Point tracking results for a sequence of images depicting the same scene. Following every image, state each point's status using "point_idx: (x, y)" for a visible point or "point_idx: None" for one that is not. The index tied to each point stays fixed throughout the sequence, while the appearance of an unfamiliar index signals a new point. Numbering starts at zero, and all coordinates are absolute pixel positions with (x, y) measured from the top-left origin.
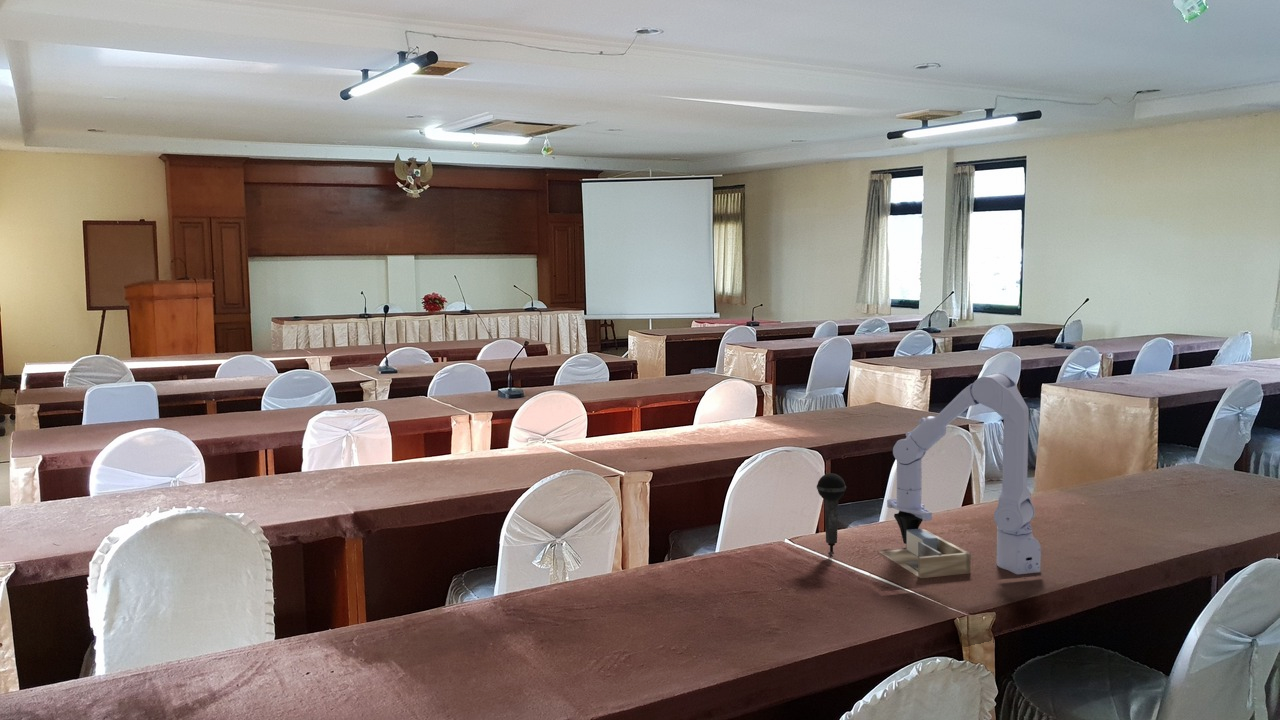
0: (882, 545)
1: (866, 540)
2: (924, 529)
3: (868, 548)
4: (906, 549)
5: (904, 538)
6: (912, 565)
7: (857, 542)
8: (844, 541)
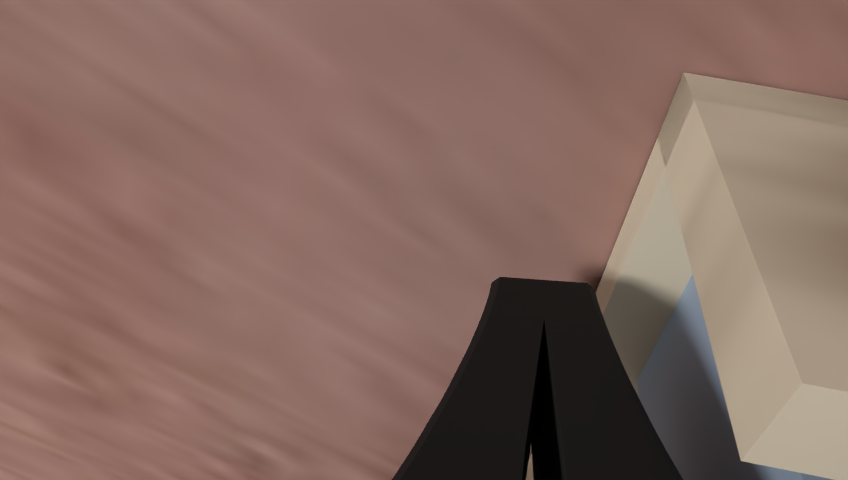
0: (238, 346)
1: (39, 356)
2: (819, 395)
3: (299, 467)
4: (643, 392)
5: (534, 461)
6: None
7: (102, 433)
8: (65, 474)
